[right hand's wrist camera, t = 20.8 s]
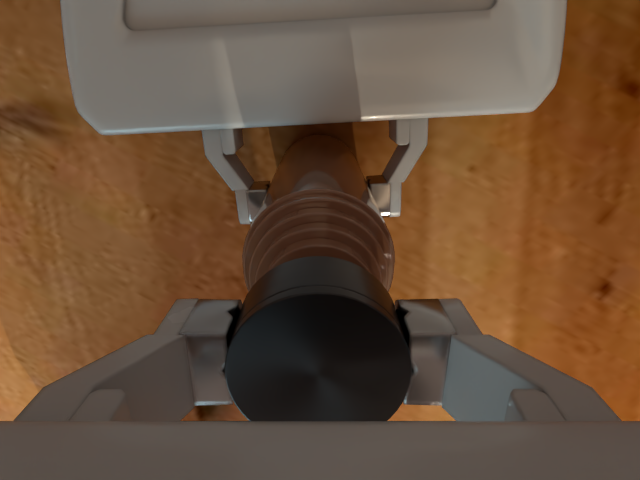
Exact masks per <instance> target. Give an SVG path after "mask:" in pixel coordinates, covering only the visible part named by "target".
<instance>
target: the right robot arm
mask: <svg viewBox="0 0 640 480" xmlns="http://www.w3.org/2000/svg"><path fill="white" fill-rule="evenodd" d="M394 306H395V309H396V312H397V315H398V318H399V321H400V324H401V327H402V330H403V333H404V336H405V339H406V342H407V346H408V349H409V352H410V356H411V362H412V375H411V381H410V385H409V388H408V391H407V394H406V396H405V398H404V400H403V403H404V404H409V405H442V408H443V409H445V410H446V411H447V412H448V413H449V414H450V415H451V416H452V417H453V418H454V419H455V420H456V421H180V420H182V419H183V418H184V417H185V416H186V415H187V414H188V413H189V412H190V411H191V410H192V409H193V408H194V405H226V404H233V399H232V397H231V396H230V393H229V390H228V387H227V384H226V379H225V358H226V353H227V350H228V346H229V343H230V340H231V338H232V334H233V332H234V329H235V326H236V323H237V320H238V317H239V314H240V311H241V308H242V302H241V300H233V299H198V298H196V299H177V300H176V301H175V303H174V304H173V306H172V307H171V309H170V310H169V312H168V313H167V315H166V316H165V318H164V319H163V321H162V322H161V324H160V325H159V327H158V328H157V330H156V331H155V333H154V334H153V335H145V336H143V337H141V338H140V339H138V340H136V341H134V342H132V343H130V344H128V345H126V346H124V347H122V348H120V349H118V350H116V351H114V352H112V353H110V354H108V355H106V356H104V357H102V358H100V359H98V360H96V361H94V362H92V363H90V364H88V365H86V366H85V367H83V368H81V369H79V370H77V371H75V372H73V373H71V374H69V375H67V376H65V377H63V378H61V379H59V380H57V381H55V382H53V383H51V384H49V385H47V386H45V387H43V389H42V390H41V391H40V392H39V393H38V394H37V395H36V396H35V397H34V399H33V400H32V401H31V402H30V403H29V404H28V405H27V406H26V407H25V409H24V410H23V411H22V412H21V413H20V414H19V415H18V416H17V417H16V418H15V420H14V421H0V480H640V421H621V420H620V419H619V417H618V416H617V415H616V414H615V413H614V412H613V411H612V410H611V408H610V407H609V406H608V405H607V404H606V403H605V402H604V400H603V399H602V398H601V397H600V396H599V395H598V394H597V393H596V391H595V390H594V389H593V388H592V387H590V386H588V385H586V384H584V383H582V382H580V381H578V380H576V379H574V378H572V377H570V376H568V375H566V374H564V373H563V372H561V371H559V370H557V369H555V368H553V367H551V366H549V365H547V364H545V363H543V362H541V361H539V360H537V359H535V358H533V357H532V356H530V355H528V354H526V353H524V352H522V351H520V350H518V349H516V348H514V347H512V346H510V345H508V344H506V343H504V342H502V341H500V340H499V339H497V338H495V337H493V336H491V335H483V334H482V333H481V331H480V330H479V328H478V326H477V325H476V323H475V322H474V320H473V319H472V317H471V316H470V314H469V313H468V311H467V310H466V308H465V307H464V305H463V304H462V302H461V300H459V299H457V298H454V299H410V300H396V301H395V305H394Z"/></svg>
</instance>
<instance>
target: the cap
mask: <svg viewBox="0 0 640 480" xmlns="http://www.w3.org/2000/svg"><path fill="white" fill-rule="evenodd" d="M411 375H412V362H411V356H410V352H409V349H408V346H407V342H406V339H405V336H404V333H403V330H402V327H401V324H400V321H399V318H398V315H397V312H396V309H395V306H394V303H393V300H392V298H391V297H390V295H389V293H388V291H387V290H386V288H385V287H384V286H383V284H382V283H381V282H380V281H379V280H378V279H377V278H376V277H375V276H374V275H372V274H371V273H370V272H369V271H367V270H365V269H364V268H362V267H360V266H359V265H356V264H354V263H352V262H349V261H346V260H343V259H339V258H334V257H327V256H311V257H303V258H298V259H294V260H291V261H288V262H285V263H283V264H281V265H278V266H276V267H275V268H273V269H271V270H270V271H268V272H267V273H266V274H264V275H263V276H262V277H261V278H260V279H259V280H258V281H257V282H256V283H255V284H254V285H253V286H252V288H251V289H250V291H249V292H248V294H247V296H246V298H245V300H244V302H243V305H242V308H241V311H240V314H239V317H238V320H237V323H236V326H235V329H234V332H233V334H232V338H231V340H230V343H229V346H228V350H227V353H226V358H225V379H226V384H227V387H228V390H229V393H230V396H231V397H232V399H233V401H234V403H235V405H236V406H237V407H238V409H239V410H240V412H241V413H242V414H243V415H244V416H245V417H246V418H247V419H248V420H249V421H387V420H388V419H390V418H391V416H392V415H393V414H394V413H395V412H396V411H397V410H398V408H399V407H400V405H401V404H402V402H403V400H404V398H405V396H406V394H407V391H408V388H409V385H410V381H411Z"/></svg>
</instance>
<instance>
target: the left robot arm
mask: <svg viewBox="0 0 640 480" xmlns="http://www.w3.org/2000/svg"><path fill="white" fill-rule="evenodd" d="M60 5H61V17H62V28H63V38H64V45H65V53H66V60H67V66H68V72H69V78H70V84H71V89H72V94H73V98H74V102H75V106H76V109H77V111H78V113H79V114H80V115H81V116H82V117H83V118H84V119H85V120H86V121H87V122H88V123H89V124H90V125H91V126H92V127H93V128H94V129H95V130H96V131H97V132H98V133H100V134H102V135H123V134H141V133H160V132H178V131H197V130H202V136H203V143H204V149H205V156H206V157H207V159H208V160H209V161H210V163H211V164H212V165H213V166H214V168H215V169H216V170H217V172H218V173H219V174H220V176H221V177H222V178H223V179H224V181H225V182H226V183H227V185H228V186H229V187H230V188H231V190H232V191H235V194H236V202H237V210H238V217H239V222H240V224H252V222H253V220H254V218H255V216H256V214H257V212H258V210H259V207H260V205H261V203H262V201H263V199H264V197H265V194H266V192H267V190H268V188H269V186H270V181H258V182H254V180H253V178H252V177H251V176H250V174H249V173H248V171H247V170H246V168H245V167H244V165H243V164H242V162H241V161H240V160H239V158H238V157H237V155H236V154H235V152H236V151H237V150H239V149H240V148H241V147H242V146H243V136H242V128H252V127H270V126H289V125H307V124H325V123H344V122H362V121H381V120H389V137H390V138H391V139H392V140H393V141H394V142H395V143H397V144H398V146H397V148H396V150H395V151H394V153H393V155H392V157H391V159H390V161H389V162H388V164H387V166H386V168H385V170H384V171H383V173H382V175H375V176H366V182H367V184H368V186H369V189H370V191H371V193H372V195H373V197H374V200H375V202H376V204H377V206H378V208H379V211H380V213H381V215H382V217H399V216H400V212H401V182H404V181H405V180H406V178H407V176H408V175H409V173H410V172H411V170H412V168H413V167H414V165H415V163H416V162H417V160H418V159H419V157H420V155H421V154H422V152H423V150H424V149H425V147H426V146H427V136H428V118H436V117H454V116H472V115H491V114H509V113H527V112H532V111H534V110H535V109H536V108H537V107H538V106H539V105H540V104H541V103H542V102H543V101H544V99H545V98H546V97H547V96H548V94H549V93H550V92H551V91H552V90H553V88H554V87H555V85H556V83H557V79H558V76H559V71H560V66H561V59H562V52H563V44H564V35H565V24H566V12H567V0H60Z"/></svg>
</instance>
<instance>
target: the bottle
mask: <svg viewBox="0 0 640 480" xmlns="http://www.w3.org/2000/svg"><path fill="white" fill-rule="evenodd" d="M311 256H327V257H334V258H339V259H343V260H346V261H349V262H352V263H354V264H356V265H359V266H360V267H362V268H364V269H365V270H367V271H369V272H370V273H371V274H372V275H374V276H375V277H376V278H377V279H378V280H379V281H380V282H381V283H382V284H383V286H384V287H385V288H386V290H387V291H388V292H389V289H390V287H391V283H392V279H393V273H394V264H395V251H394V246H393V241H392V238H391V235H390V233H389V230H388V228H387V226H386V224H385V222H384V219H383V217H382V215H381V213H380V211H379V208H378V206H377V204H376V202H375V200H374V197H373V195H372V193H371V191H370V189H369V186H368V184H367V182H366V180H365V178H364V175H363V173H362V171H361V169H360V167H359V164H358V162H357V160H356V158H355V156H354V154H353V153H352V151H351V150H350V149H349V147H348V146H347V145H345V144H344V143H343V142H342V141H340V140H338V139H336V138H334V137H331V136H328V135H311V136H307V137H304V138H302V139H300V140H298V141H296V142H295V143H294V144H292V145H291V146H290V147H289V149H288V150H287V151H286V152H285V154H284V156H283V158H282V160H281V162H280V164H279V166H278V169H277V171H276V173H275V175H274V177H273V179H272V181H271V184H270V186H269V188H268V190H267V192H266V194H265V197H264V199H263V201H262V203H261V205H260V207H259V210H258V212H257V214H256V216H255V218H254V220H253V222H252V225H251V227H250V229H249V231H248V234H247V236H246V239H245V243H244V247H243V255H242V259H243V270H244V278H245V283H246V286H247V289H248V291H250V289H251V288H252V286H253V285H254V284H255V283H256V282H257V281H258V280H259V279H260V278H261V277H262V276H263V275H264V274H266V273H267V272H268V271H270V270H271V269H273V268H275V267H276V266H278V265H281V264H283V263H285V262H288V261H291V260H294V259H298V258H303V257H311Z"/></svg>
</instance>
